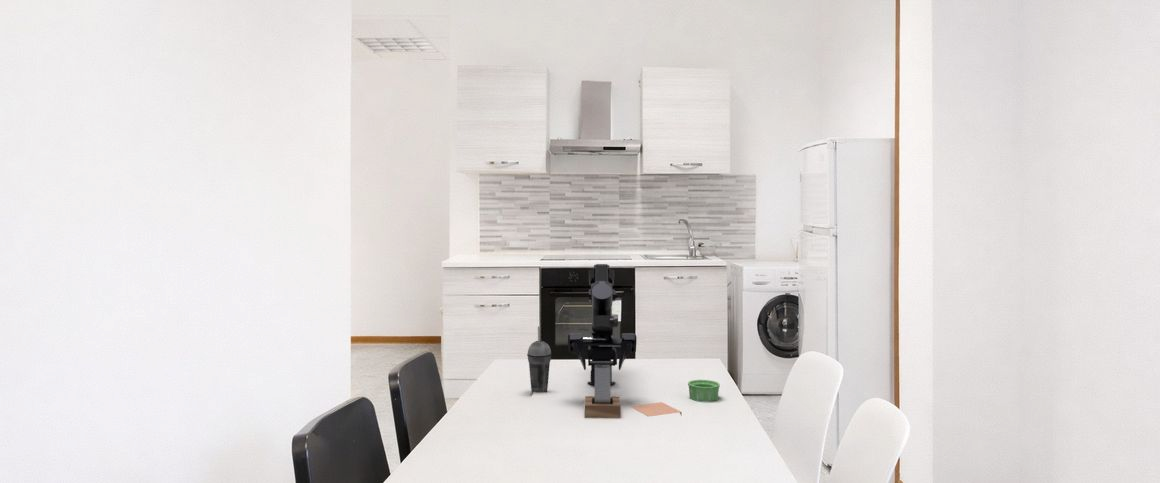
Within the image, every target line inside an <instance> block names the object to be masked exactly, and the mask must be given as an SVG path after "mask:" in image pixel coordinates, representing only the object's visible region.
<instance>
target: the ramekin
mask: <svg viewBox="0 0 1160 483" xmlns="http://www.w3.org/2000/svg"><path fill="white" fill-rule="evenodd" d="M687 385H688V393H689V398H690V399H691V400H693V401H696V402H702V401H711V402H715V401H717V400H718V399H719V391H720V385H721V384H720V383H719V382H717V381H714V380H710V379H693V380H690V381H688V382H687ZM714 400H715V401H714Z"/></svg>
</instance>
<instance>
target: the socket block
mask: <svg viewBox="0 0 1160 483" xmlns="http://www.w3.org/2000/svg"><path fill="white" fill-rule="evenodd" d="M620 399H621V398H620V396H611V395H610V404H595V395H594V396H593V395H591V396H589V395H585V396H584V419H585V418H586V419H591V418H592V419H605V418H606V419H621V400H620Z"/></svg>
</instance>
